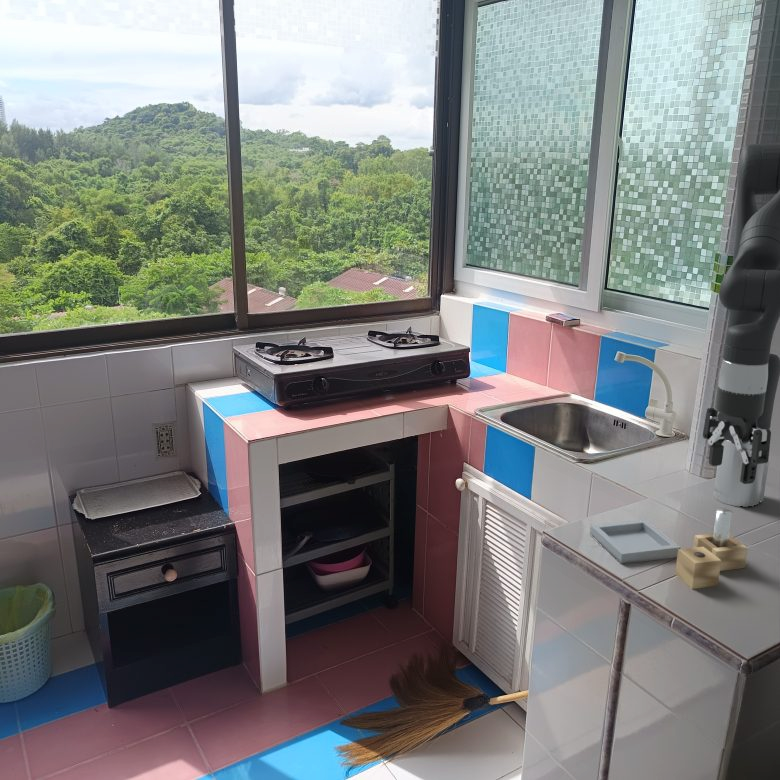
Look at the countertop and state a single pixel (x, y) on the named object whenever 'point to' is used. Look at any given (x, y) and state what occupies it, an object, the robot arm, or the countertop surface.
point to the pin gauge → (722, 527)
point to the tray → (634, 541)
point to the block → (698, 567)
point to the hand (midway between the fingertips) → (730, 473)
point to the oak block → (724, 551)
